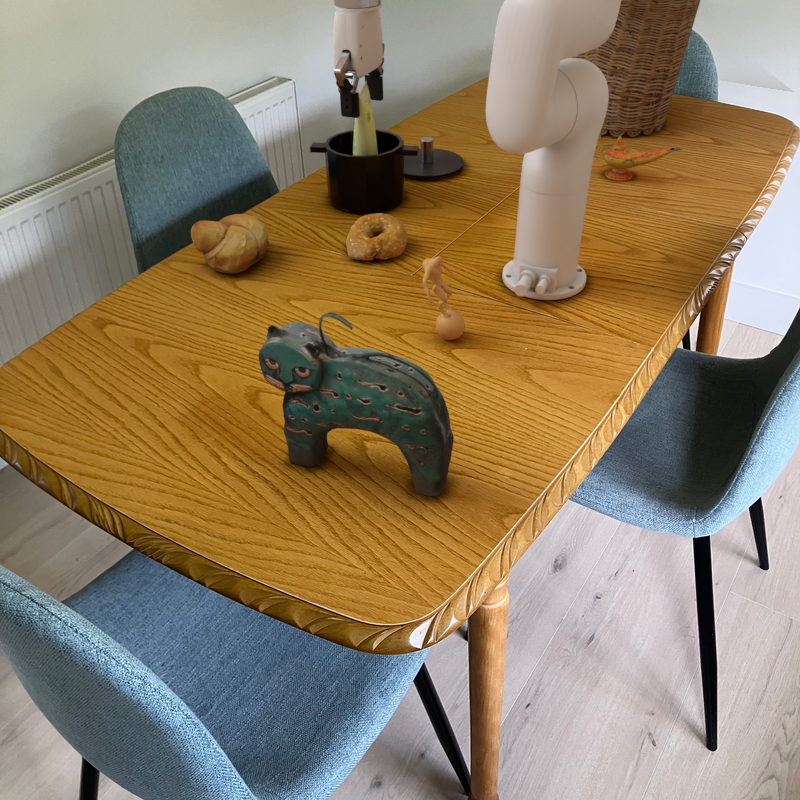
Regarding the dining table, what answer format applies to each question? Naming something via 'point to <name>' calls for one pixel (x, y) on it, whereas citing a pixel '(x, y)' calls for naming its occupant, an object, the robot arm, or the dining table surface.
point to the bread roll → (231, 242)
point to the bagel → (376, 237)
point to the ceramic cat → (356, 400)
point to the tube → (365, 126)
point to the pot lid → (432, 162)
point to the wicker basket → (643, 62)
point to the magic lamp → (628, 158)
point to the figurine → (450, 320)
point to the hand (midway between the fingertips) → (362, 107)
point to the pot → (365, 172)
